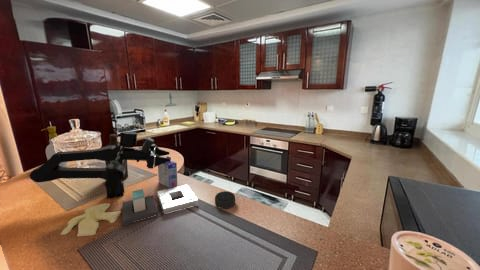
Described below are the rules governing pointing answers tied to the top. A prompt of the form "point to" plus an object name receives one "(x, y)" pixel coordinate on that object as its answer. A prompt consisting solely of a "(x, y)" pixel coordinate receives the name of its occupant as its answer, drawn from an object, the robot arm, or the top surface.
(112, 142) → the olive oil
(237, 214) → the top surface
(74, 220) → the cloth
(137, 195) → the plug
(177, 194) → the block
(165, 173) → the ink cartridge box
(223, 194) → the smart speaker
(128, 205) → the dark grey flat frame
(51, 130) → the soap bottle
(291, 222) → the top surface
